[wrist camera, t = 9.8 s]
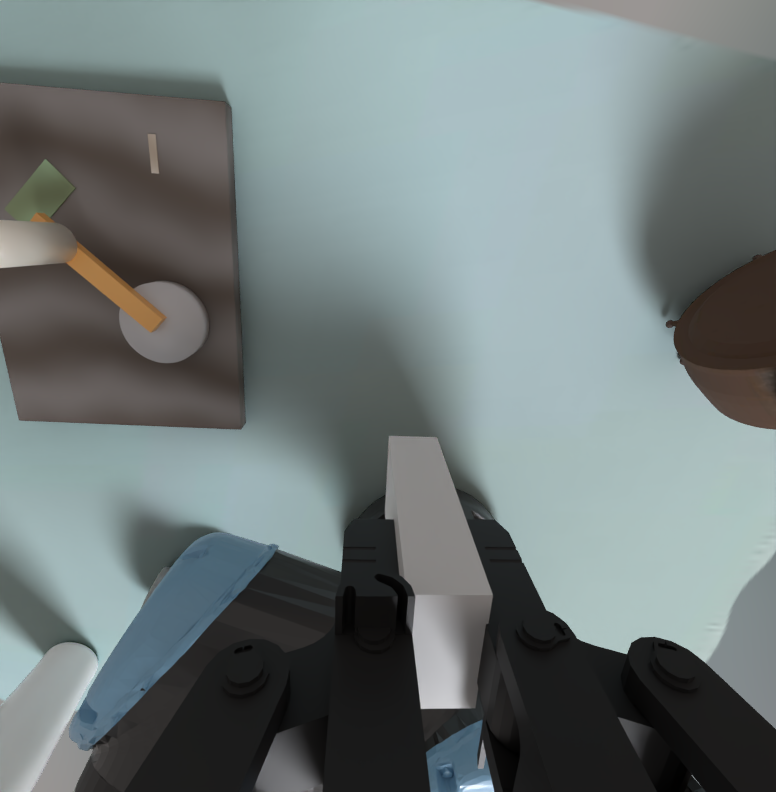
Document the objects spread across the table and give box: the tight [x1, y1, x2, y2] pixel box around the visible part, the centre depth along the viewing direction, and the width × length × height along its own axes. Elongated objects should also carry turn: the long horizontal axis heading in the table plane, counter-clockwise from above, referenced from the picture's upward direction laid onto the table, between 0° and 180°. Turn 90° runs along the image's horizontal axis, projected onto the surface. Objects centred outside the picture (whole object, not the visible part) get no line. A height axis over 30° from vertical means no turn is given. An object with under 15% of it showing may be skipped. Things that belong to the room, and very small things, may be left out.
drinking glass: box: [0, 642, 98, 792], centre depth 40 cm, size 7×7×15 cm
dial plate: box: [0, 83, 246, 429], centre depth 34 cm, size 24×18×2 cm
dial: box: [0, 213, 209, 363], centre depth 30 cm, size 13×6×8 cm, turn 45°
